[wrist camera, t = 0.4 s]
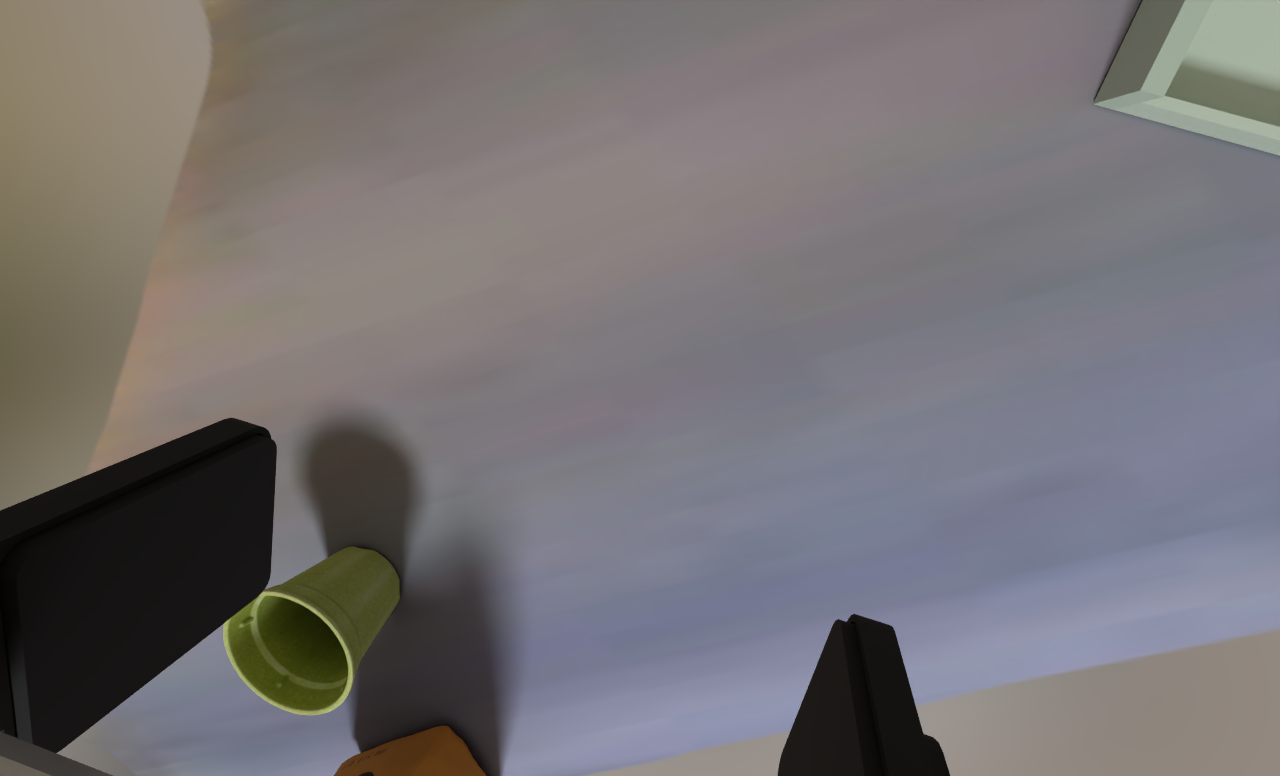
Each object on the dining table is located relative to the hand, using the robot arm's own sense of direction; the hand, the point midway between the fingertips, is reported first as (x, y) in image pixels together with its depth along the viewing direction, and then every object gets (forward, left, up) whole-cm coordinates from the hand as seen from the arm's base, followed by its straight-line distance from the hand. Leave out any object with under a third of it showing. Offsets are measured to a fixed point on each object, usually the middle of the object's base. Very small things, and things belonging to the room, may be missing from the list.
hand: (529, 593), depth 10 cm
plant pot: (+29, -18, -31) cm, 46 cm away
